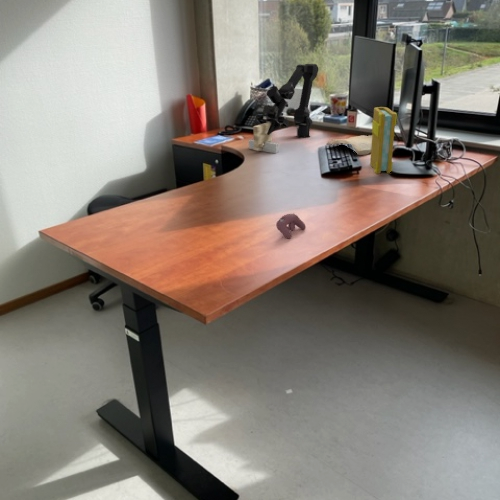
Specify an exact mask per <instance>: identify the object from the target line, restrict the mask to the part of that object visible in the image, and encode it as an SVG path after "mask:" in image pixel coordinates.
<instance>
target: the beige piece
mask: <svg viewBox="0 0 500 500" xmlns="http://www.w3.org/2000/svg"><path fill="white" fill-rule="evenodd" d="M339 143H343V144H351V145H352V146H353V147H354V149H355V150H356V152H357V155H359V156H362V155H363V156H365V155H369V154H371V145H372V134H371V135H368V136H367V135H364V134H363V135H359V136H352V137H347V138H346V139H339V138H338V139H336V138H335V139H331V140H330V141H327V143H326V144H325V145H327V146H333V145H332V144H339Z"/></svg>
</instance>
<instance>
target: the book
mask: <svg viewBox="0 0 500 500" xmlns="http://www.w3.org/2000/svg"><path fill="white" fill-rule="evenodd" d="M372 118H373V119H372V125H371V127H372V128H371V133H372V134H371V135H372V145H371V153H370V158H369V159H370V160H369V161H370V163H369V164H370V166H371V168H373V172H374V173H375V174H381V172H385V173H387V174H391V173H390V172H391V171H393V163H394V162H393V149H394V140H395V139H394V137H395V130H396V129H395V128H396V126H397V118H398V114H397V113H396V111H392V110H391V109H390V108H389V107H385V106H379V107H378V106H377V107H374V108H373V117H372Z"/></svg>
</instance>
